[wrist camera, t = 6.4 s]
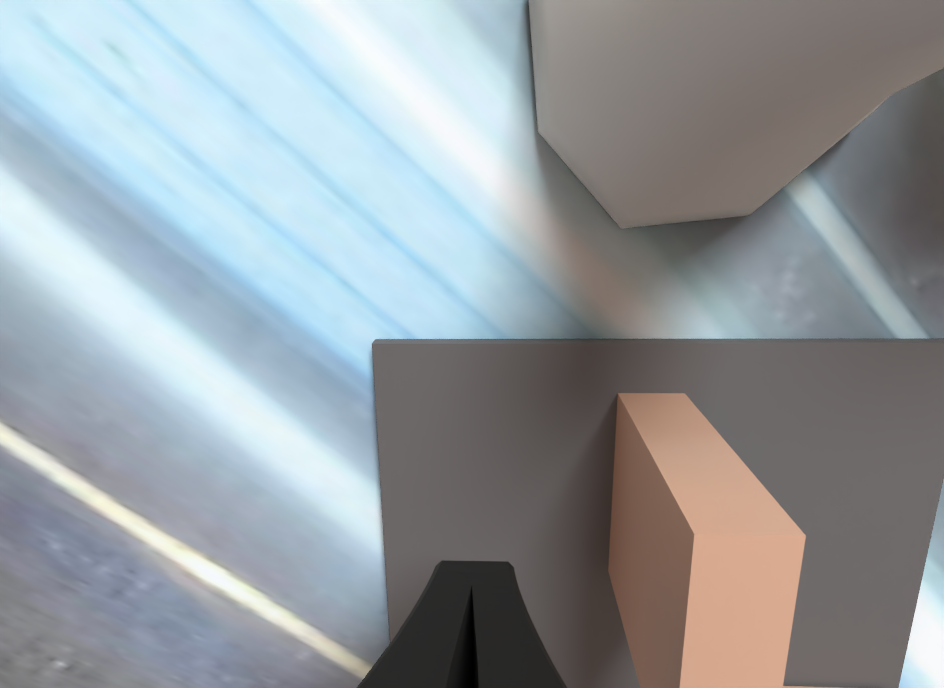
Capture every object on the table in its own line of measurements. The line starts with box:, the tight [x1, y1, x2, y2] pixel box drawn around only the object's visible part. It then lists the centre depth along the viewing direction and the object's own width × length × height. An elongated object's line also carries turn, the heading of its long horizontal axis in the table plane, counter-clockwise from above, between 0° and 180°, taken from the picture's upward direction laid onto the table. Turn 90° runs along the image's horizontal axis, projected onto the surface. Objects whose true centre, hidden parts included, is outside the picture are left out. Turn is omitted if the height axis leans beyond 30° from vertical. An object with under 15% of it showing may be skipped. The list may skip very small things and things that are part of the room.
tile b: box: [608, 393, 806, 688], centre depth 12 cm, size 2×5×6 cm, turn 1°
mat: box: [372, 339, 944, 688], centre depth 17 cm, size 14×16×1 cm
